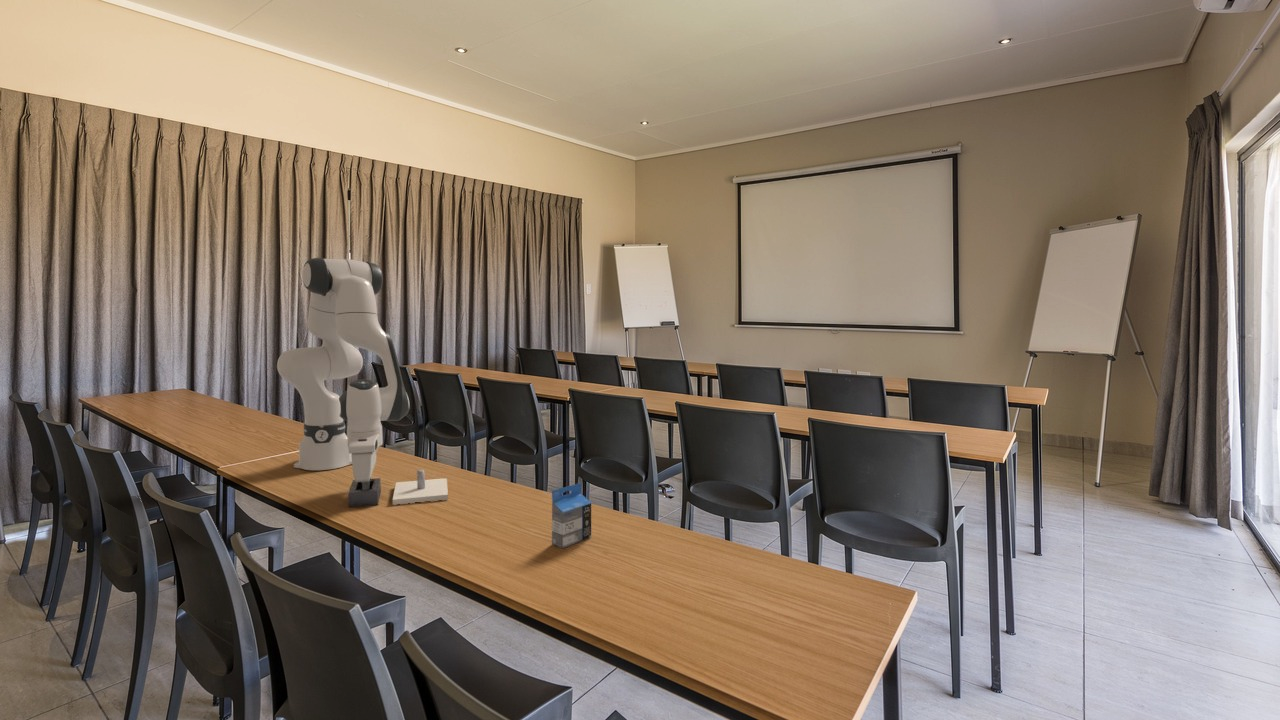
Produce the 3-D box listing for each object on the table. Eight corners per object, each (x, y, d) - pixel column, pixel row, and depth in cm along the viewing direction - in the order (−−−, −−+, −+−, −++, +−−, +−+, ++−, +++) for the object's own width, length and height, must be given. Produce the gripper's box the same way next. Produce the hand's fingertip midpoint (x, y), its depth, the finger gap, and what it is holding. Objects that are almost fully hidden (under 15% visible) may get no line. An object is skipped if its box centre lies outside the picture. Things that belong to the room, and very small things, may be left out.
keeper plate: (396, 487, 175) (395, 465, 175) (446, 483, 180) (446, 461, 179) (392, 505, 160) (392, 481, 160) (448, 499, 165) (447, 476, 164)
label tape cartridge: (562, 549, 133) (562, 494, 132) (551, 544, 135) (550, 491, 134) (592, 537, 139) (592, 485, 138) (580, 533, 142) (580, 482, 141)
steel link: (353, 494, 167) (352, 480, 167) (380, 491, 170) (380, 478, 169) (348, 507, 158) (348, 492, 157) (377, 504, 160) (377, 490, 160)
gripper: (357, 431, 175) (358, 478, 176) (347, 449, 156) (349, 501, 157) (380, 430, 177) (382, 476, 178) (374, 447, 158) (375, 498, 159)
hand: (366, 488), depth 167 cm, fingers closed on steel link, 2 cm apart
